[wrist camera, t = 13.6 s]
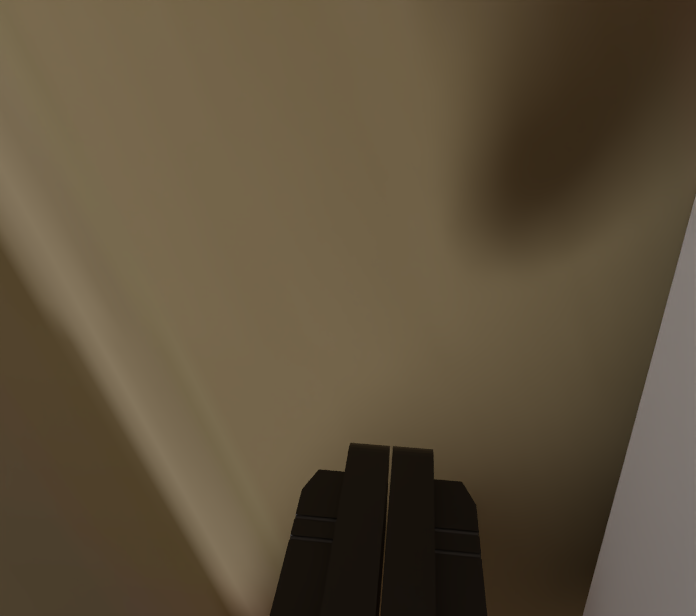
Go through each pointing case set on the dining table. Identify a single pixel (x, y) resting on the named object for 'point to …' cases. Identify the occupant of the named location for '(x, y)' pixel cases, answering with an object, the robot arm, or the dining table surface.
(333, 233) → the dining table surface
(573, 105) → the dining table surface
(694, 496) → the tray
